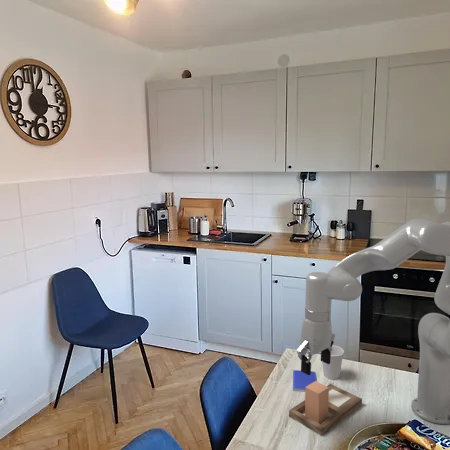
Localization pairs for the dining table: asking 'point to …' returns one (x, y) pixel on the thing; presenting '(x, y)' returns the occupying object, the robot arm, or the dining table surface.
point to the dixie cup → (334, 363)
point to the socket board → (329, 410)
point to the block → (316, 402)
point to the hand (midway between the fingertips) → (315, 367)
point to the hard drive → (302, 380)
